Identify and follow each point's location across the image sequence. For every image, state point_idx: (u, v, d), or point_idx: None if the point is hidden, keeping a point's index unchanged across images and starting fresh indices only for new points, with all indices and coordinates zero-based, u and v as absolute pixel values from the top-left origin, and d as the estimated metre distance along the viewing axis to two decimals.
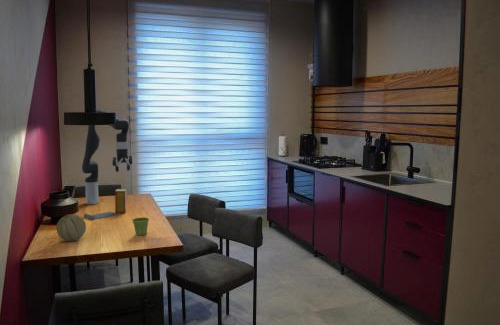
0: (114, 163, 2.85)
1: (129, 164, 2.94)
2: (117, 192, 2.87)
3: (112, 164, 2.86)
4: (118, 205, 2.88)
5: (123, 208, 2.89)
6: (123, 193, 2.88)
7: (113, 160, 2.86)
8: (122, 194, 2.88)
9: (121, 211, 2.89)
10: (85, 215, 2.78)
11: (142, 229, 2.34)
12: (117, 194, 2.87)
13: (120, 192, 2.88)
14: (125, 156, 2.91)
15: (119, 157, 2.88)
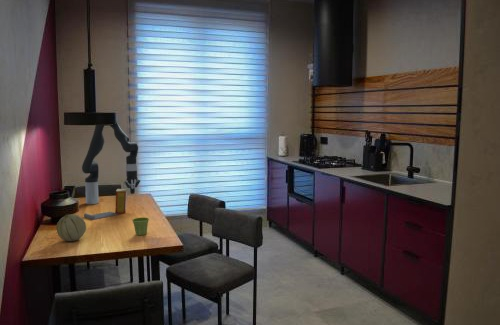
0: (128, 186, 2.96)
1: (134, 187, 2.99)
2: (118, 192, 2.87)
3: (127, 187, 2.98)
4: (118, 205, 2.88)
5: (123, 208, 2.89)
6: (124, 193, 2.88)
7: (126, 184, 2.96)
8: (123, 194, 2.88)
9: (121, 211, 2.89)
10: (85, 215, 2.78)
11: (142, 229, 2.34)
12: (117, 194, 2.87)
13: (121, 192, 2.88)
14: (135, 177, 2.99)
15: (129, 179, 2.96)
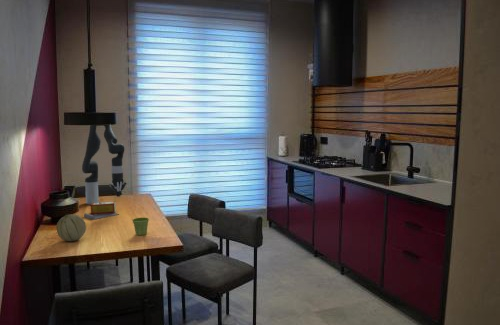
0: (114, 189, 2.87)
1: (120, 190, 2.91)
2: (92, 212, 2.86)
3: (113, 190, 2.89)
4: (106, 210, 2.88)
5: (109, 205, 2.88)
6: (93, 206, 2.85)
7: (111, 187, 2.87)
8: (94, 207, 2.86)
9: (112, 207, 2.88)
10: (85, 215, 2.78)
11: (142, 229, 2.34)
12: (94, 212, 2.86)
13: (92, 209, 2.86)
14: (120, 180, 2.91)
15: (114, 181, 2.87)
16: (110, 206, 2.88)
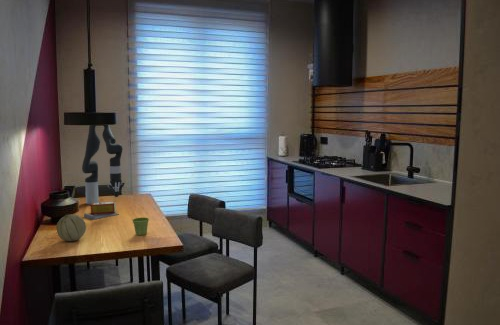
0: (112, 189, 2.86)
1: (118, 190, 2.89)
2: (92, 212, 2.86)
3: (111, 190, 2.88)
4: (106, 210, 2.88)
5: (109, 205, 2.88)
6: (93, 206, 2.85)
7: (109, 187, 2.86)
8: (94, 207, 2.86)
9: (112, 207, 2.88)
10: (85, 215, 2.78)
11: (142, 229, 2.34)
12: (94, 212, 2.86)
13: (92, 209, 2.86)
14: (119, 180, 2.90)
15: (112, 181, 2.86)
16: (110, 206, 2.88)
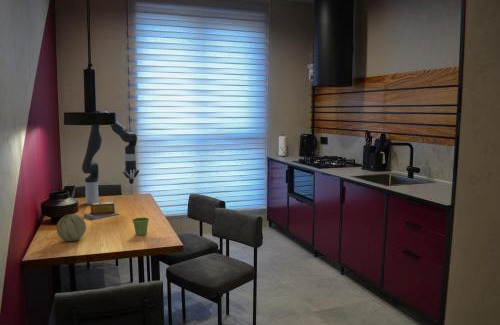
0: (127, 176, 2.96)
1: (133, 177, 2.99)
2: (92, 212, 2.86)
3: (126, 177, 2.98)
4: (106, 210, 2.88)
5: (109, 205, 2.88)
6: (93, 206, 2.85)
7: (124, 174, 2.96)
8: (94, 207, 2.86)
9: (112, 207, 2.88)
10: (85, 215, 2.78)
11: (142, 229, 2.34)
12: (94, 212, 2.86)
13: (92, 209, 2.86)
14: (133, 167, 3.00)
15: (128, 169, 2.96)
16: (110, 206, 2.88)
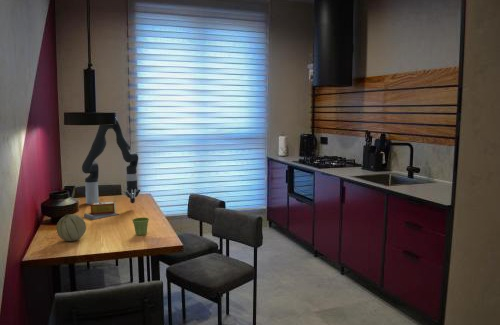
0: (128, 196, 2.99)
1: (134, 197, 3.02)
2: (92, 212, 2.86)
3: None
4: (106, 210, 2.88)
5: (109, 205, 2.88)
6: (93, 206, 2.85)
7: (126, 194, 2.99)
8: (94, 207, 2.86)
9: (112, 207, 2.88)
10: (85, 215, 2.78)
11: (142, 229, 2.34)
12: (94, 212, 2.86)
13: (92, 209, 2.86)
14: (135, 187, 3.02)
15: (129, 188, 2.99)
16: (110, 206, 2.88)
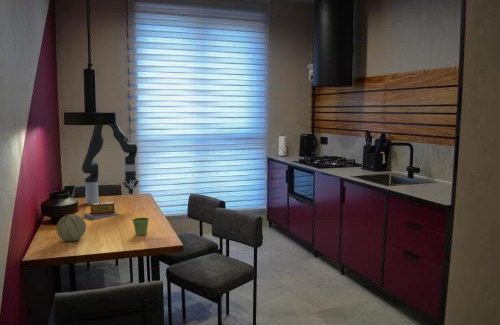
0: (127, 187, 2.97)
1: (132, 188, 3.01)
2: (92, 212, 2.86)
3: None
4: (106, 210, 2.88)
5: (109, 205, 2.88)
6: (93, 206, 2.85)
7: None
8: (94, 207, 2.86)
9: (112, 207, 2.88)
10: (85, 215, 2.78)
11: (142, 229, 2.34)
12: (94, 212, 2.86)
13: (92, 209, 2.86)
14: (133, 178, 3.01)
15: (127, 179, 2.97)
16: (110, 206, 2.88)
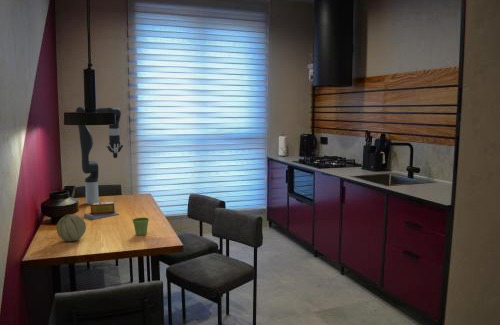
0: (111, 151, 3.03)
1: (117, 152, 3.07)
2: (92, 212, 2.86)
3: (110, 151, 3.05)
4: (106, 210, 2.88)
5: (109, 205, 2.88)
6: (93, 206, 2.85)
7: (108, 148, 3.03)
8: (94, 207, 2.86)
9: (112, 207, 2.88)
10: (85, 215, 2.78)
11: (142, 229, 2.35)
12: (94, 212, 2.86)
13: (92, 209, 2.86)
14: (117, 142, 3.07)
15: (112, 143, 3.03)
16: (110, 206, 2.88)
